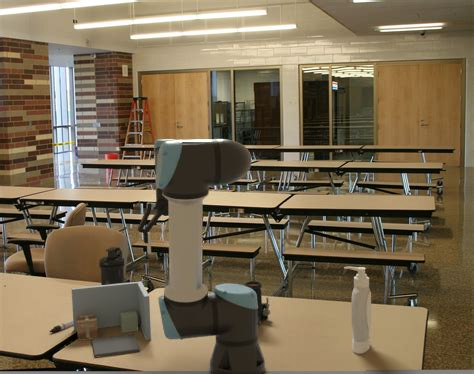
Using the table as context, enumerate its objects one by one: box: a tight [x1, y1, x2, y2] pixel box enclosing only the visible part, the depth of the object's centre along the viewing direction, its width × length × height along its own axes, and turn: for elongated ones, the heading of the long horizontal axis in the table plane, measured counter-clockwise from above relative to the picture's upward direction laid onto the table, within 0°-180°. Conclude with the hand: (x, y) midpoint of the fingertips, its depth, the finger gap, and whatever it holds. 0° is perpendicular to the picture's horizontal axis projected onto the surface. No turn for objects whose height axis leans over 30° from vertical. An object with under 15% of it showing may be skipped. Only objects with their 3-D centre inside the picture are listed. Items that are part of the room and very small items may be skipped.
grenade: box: [98, 246, 125, 285], centre depth 235 cm, size 9×11×20 cm
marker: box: [49, 318, 74, 334], centre depth 209 cm, size 15×2×2 cm, turn 150°
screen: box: [71, 281, 152, 341], centre depth 200 cm, size 17×23×14 cm
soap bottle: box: [343, 266, 372, 355], centre depth 185 cm, size 13×8×24 cm, turn 159°
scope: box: [244, 280, 271, 327], centre depth 208 cm, size 8×14×10 cm
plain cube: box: [120, 311, 139, 333], centre depth 206 cm, size 5×5×5 cm
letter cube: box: [76, 314, 99, 340], centre depth 200 cm, size 6×6×6 cm
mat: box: [91, 333, 140, 358], centre depth 191 cm, size 13×13×1 cm
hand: (169, 251), depth 206 cm, fingers open, 13 cm apart
